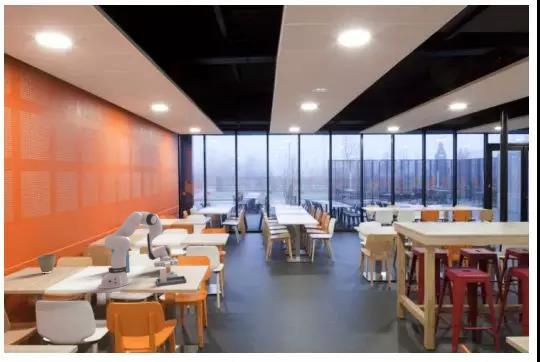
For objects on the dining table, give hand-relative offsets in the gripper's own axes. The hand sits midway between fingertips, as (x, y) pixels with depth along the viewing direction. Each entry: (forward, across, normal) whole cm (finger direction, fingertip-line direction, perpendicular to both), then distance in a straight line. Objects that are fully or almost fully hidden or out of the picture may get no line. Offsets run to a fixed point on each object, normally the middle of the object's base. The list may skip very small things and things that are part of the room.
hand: (166, 265), depth 332 cm
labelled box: (+10, 0, +8) cm, 13 cm away
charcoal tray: (+27, +1, +9) cm, 28 cm away
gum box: (-35, -38, +9) cm, 53 cm away
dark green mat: (+10, 0, +9) cm, 13 cm away
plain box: (+27, -5, +8) cm, 28 cm away
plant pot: (-63, -103, +9) cm, 121 cm away
